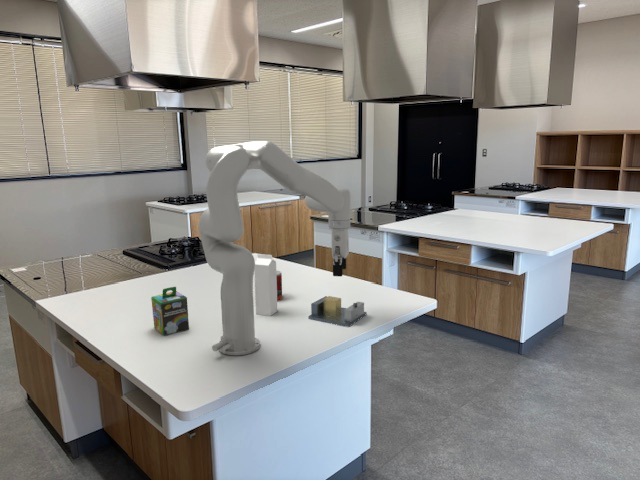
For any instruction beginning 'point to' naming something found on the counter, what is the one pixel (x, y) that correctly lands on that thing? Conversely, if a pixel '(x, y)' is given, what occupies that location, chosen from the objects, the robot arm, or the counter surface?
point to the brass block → (332, 305)
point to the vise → (319, 315)
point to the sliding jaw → (354, 311)
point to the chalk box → (170, 312)
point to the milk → (265, 285)
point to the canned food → (279, 285)
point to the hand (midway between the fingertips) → (339, 272)
